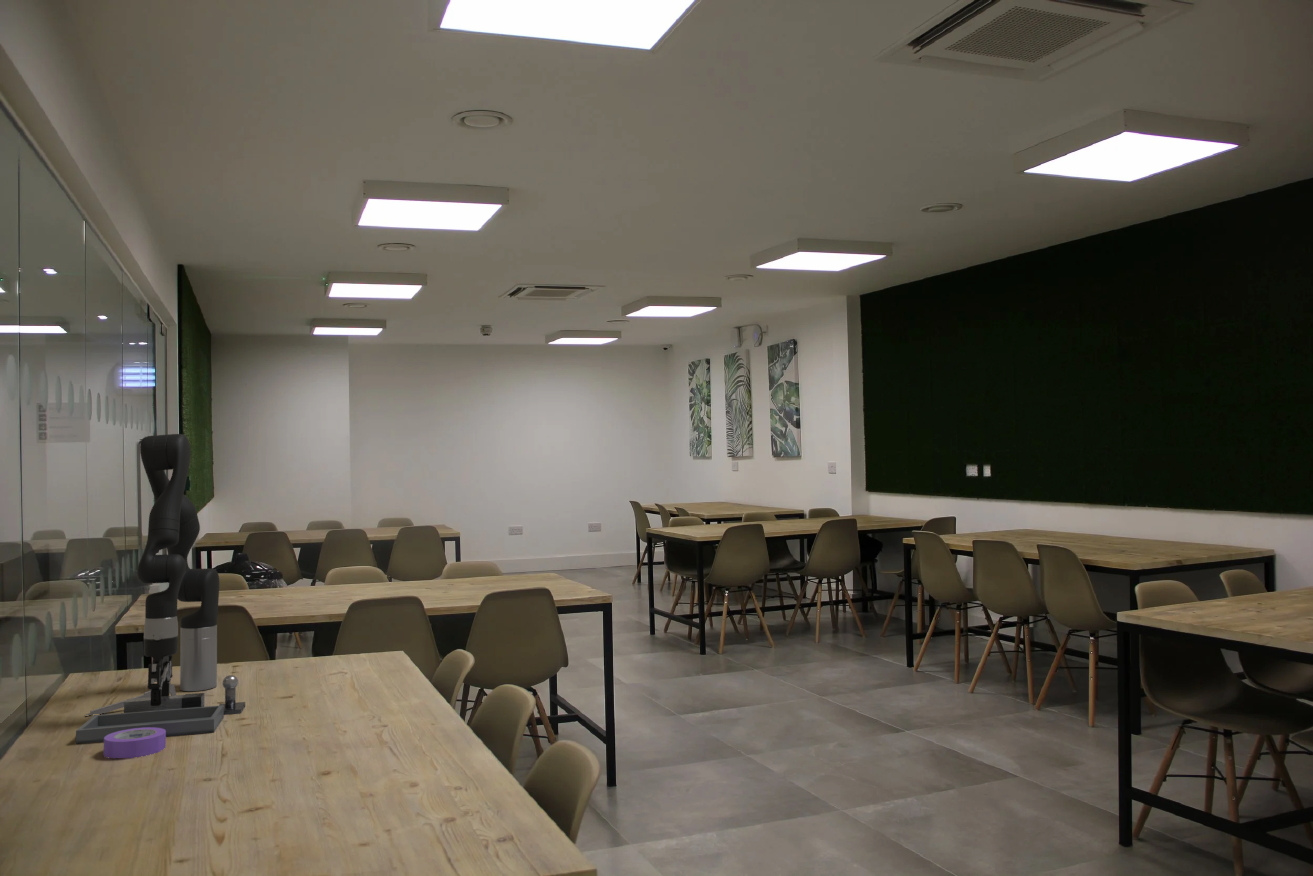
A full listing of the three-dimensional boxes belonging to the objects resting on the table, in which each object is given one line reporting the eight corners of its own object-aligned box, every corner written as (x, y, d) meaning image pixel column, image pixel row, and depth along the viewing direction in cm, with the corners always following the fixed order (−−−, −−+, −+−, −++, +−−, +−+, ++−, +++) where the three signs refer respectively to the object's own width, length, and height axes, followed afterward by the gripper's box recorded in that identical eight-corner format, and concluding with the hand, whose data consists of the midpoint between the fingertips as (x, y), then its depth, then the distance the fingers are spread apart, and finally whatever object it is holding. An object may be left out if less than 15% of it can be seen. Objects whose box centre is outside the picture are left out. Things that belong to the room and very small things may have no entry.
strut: (128, 717, 230) (128, 698, 230) (204, 711, 235) (204, 692, 235) (123, 721, 226) (123, 702, 226) (201, 715, 231) (201, 696, 231)
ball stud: (219, 707, 237) (220, 673, 238) (245, 705, 239) (245, 671, 239) (214, 715, 230) (214, 679, 230) (240, 713, 231) (241, 677, 232)
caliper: (175, 704, 244) (175, 679, 244) (176, 704, 243) (176, 680, 243) (84, 717, 231) (84, 691, 231) (85, 718, 230) (85, 692, 230)
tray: (94, 728, 220) (94, 715, 220) (223, 717, 228) (223, 705, 228) (75, 744, 206) (75, 730, 206) (213, 732, 214) (214, 719, 214)
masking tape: (149, 741, 209) (149, 724, 209) (176, 749, 202) (176, 731, 202) (93, 754, 199) (93, 736, 199) (119, 763, 192) (119, 744, 193)
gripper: (151, 632, 236) (150, 697, 235) (136, 640, 223) (135, 709, 222) (183, 630, 238) (182, 694, 238) (171, 638, 225) (170, 707, 224)
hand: (160, 701), depth 230 cm, fingers open, 8 cm apart
